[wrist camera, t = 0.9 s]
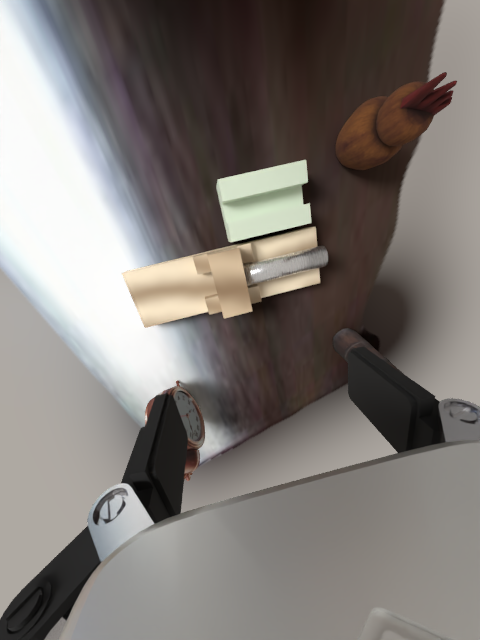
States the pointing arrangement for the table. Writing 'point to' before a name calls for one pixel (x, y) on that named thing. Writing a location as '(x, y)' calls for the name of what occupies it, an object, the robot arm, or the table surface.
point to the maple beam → (215, 279)
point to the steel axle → (285, 265)
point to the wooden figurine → (390, 123)
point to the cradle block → (264, 201)
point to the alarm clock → (187, 425)
